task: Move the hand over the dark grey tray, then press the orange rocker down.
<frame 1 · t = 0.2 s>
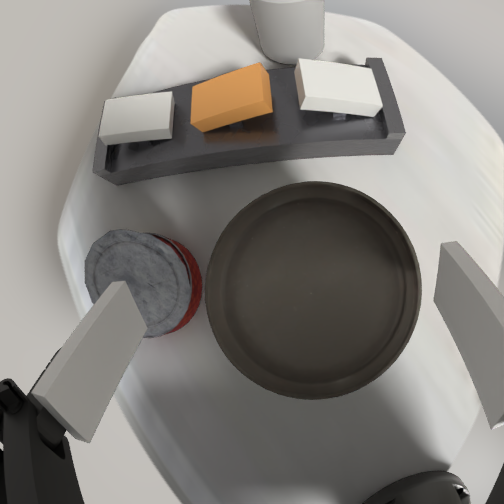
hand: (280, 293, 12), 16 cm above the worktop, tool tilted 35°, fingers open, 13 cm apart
coffee can: (311, 289, 27), on the worktop
can: (293, 49, 31), on the worktop
canned food: (158, 286, 30), on the worktop
orange rocker: (230, 97, 25), point 5 cm above the worktop, hinge at 15.0°
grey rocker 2: (137, 118, 27), point 5 cm above the worktop, hinge at -15.0°
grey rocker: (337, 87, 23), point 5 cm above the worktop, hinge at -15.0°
dark grey tray: (243, 126, 30), on the worktop
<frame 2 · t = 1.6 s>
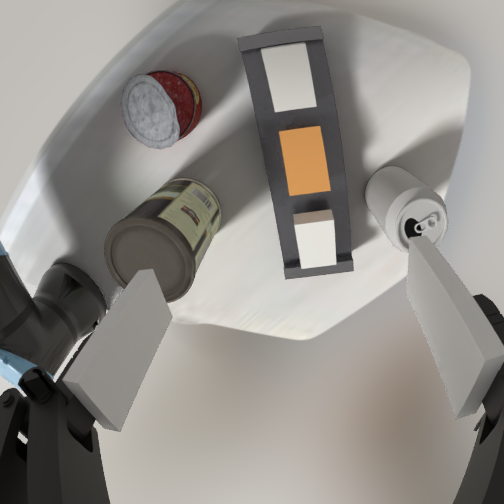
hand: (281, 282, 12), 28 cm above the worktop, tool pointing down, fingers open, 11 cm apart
coffee can: (186, 212, 43), on the worktop
can: (389, 191, 38), on the worktop
canned food: (166, 107, 36), on the worktop
orange rocker: (304, 161, 32), point 5 cm above the worktop, hinge at 15.0°
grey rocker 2: (289, 76, 28), point 5 cm above the worktop, hinge at -15.0°
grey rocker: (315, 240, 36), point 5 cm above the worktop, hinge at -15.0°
dark grey tray: (302, 152, 37), on the worktop
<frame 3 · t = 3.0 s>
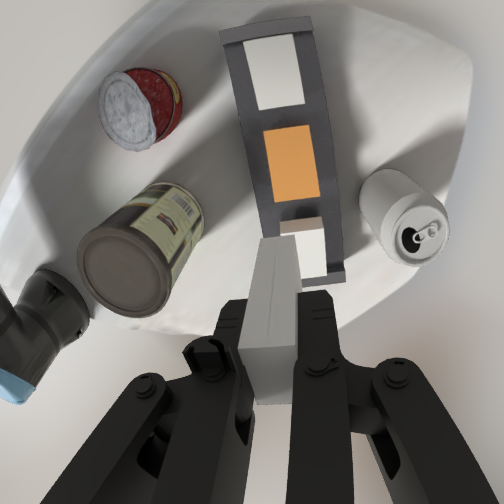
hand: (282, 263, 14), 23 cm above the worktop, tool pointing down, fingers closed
coffee can: (168, 218, 40), on the worktop
can: (385, 196, 35), on the worktop
canned food: (146, 107, 33), on the worktop
orange rocker: (292, 163, 29), point 5 cm above the worktop, hinge at 15.0°
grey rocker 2: (274, 70, 25), point 5 cm above the worktop, hinge at -15.0°
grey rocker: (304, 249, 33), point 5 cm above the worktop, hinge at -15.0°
dark grey tray: (290, 154, 34), on the worktop
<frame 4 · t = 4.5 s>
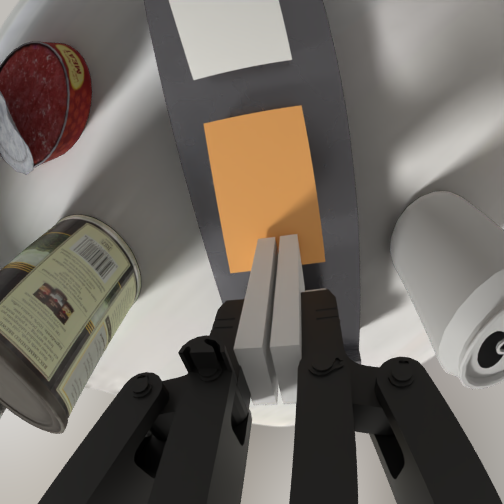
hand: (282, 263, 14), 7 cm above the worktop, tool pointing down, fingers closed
coffee can: (92, 266, 25), on the worktop
can: (430, 233, 20), on the worktop
canned food: (48, 101, 18), on the worktop
orange rocker: (267, 189, 14), point 5 cm above the worktop, hinge at 14.6°, touching gripper
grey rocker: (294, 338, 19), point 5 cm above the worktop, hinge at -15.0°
dark grey tray: (272, 164, 19), on the worktop
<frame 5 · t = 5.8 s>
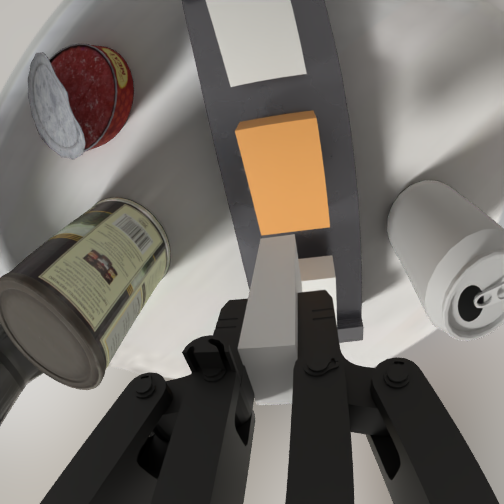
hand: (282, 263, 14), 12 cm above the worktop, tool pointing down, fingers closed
coffee can: (125, 245, 29), on the worktop
can: (422, 217, 24), on the worktop
canned food: (90, 97, 22), on the worktop
orange rocker: (286, 174, 18), point 5 cm above the worktop, hinge at -10.1°
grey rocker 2: (255, 23, 14), point 5 cm above the worktop, hinge at -15.0°
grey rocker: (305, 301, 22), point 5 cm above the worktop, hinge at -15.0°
dark grey tray: (288, 156, 23), on the worktop
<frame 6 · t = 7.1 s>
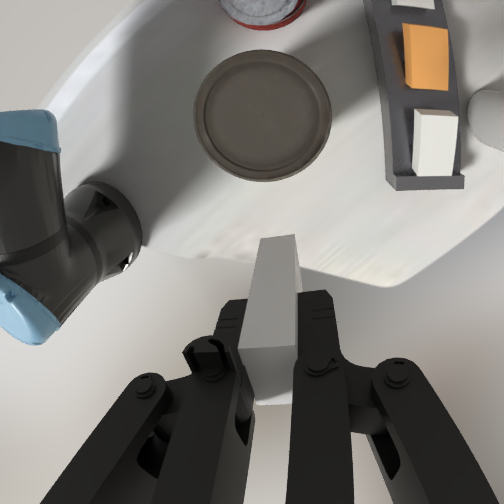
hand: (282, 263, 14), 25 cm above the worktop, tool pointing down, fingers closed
coffee can: (275, 110, 33), on the worktop
can: (485, 116, 28), on the worktop
orange rocker: (426, 56, 22), point 5 cm above the worktop, hinge at -18.4°, touching dark grey tray
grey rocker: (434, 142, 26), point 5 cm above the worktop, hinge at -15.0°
dark grey tray: (409, 60, 27), on the worktop
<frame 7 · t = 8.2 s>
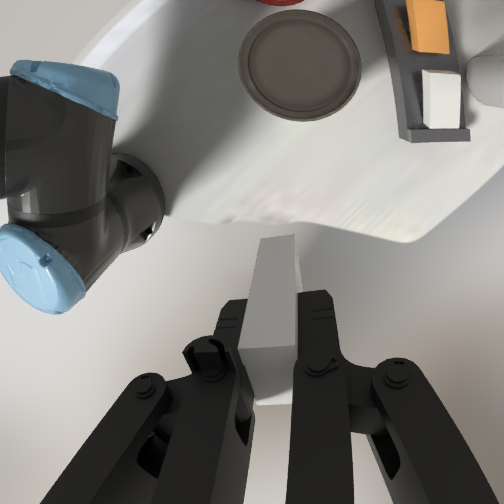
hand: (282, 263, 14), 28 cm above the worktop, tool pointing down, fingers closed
coffee can: (296, 76, 34), on the worktop
can: (481, 80, 29), on the worktop
orange rocker: (428, 25, 23), point 5 cm above the worktop, hinge at -15.8°
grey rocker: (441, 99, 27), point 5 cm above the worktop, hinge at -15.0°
dark grey tray: (412, 32, 28), on the worktop
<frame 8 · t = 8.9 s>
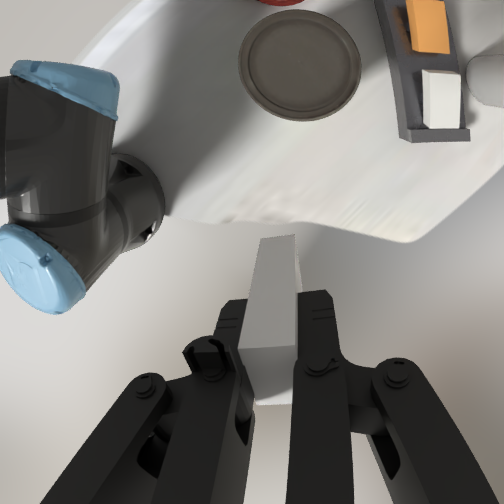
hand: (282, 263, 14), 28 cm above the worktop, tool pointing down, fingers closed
coffee can: (296, 76, 34), on the worktop
can: (481, 80, 29), on the worktop
orange rocker: (428, 25, 23), point 5 cm above the worktop, hinge at -14.8°
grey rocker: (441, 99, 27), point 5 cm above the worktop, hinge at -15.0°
dark grey tray: (412, 32, 28), on the worktop
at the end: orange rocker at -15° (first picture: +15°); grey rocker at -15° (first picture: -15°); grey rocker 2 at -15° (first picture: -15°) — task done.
